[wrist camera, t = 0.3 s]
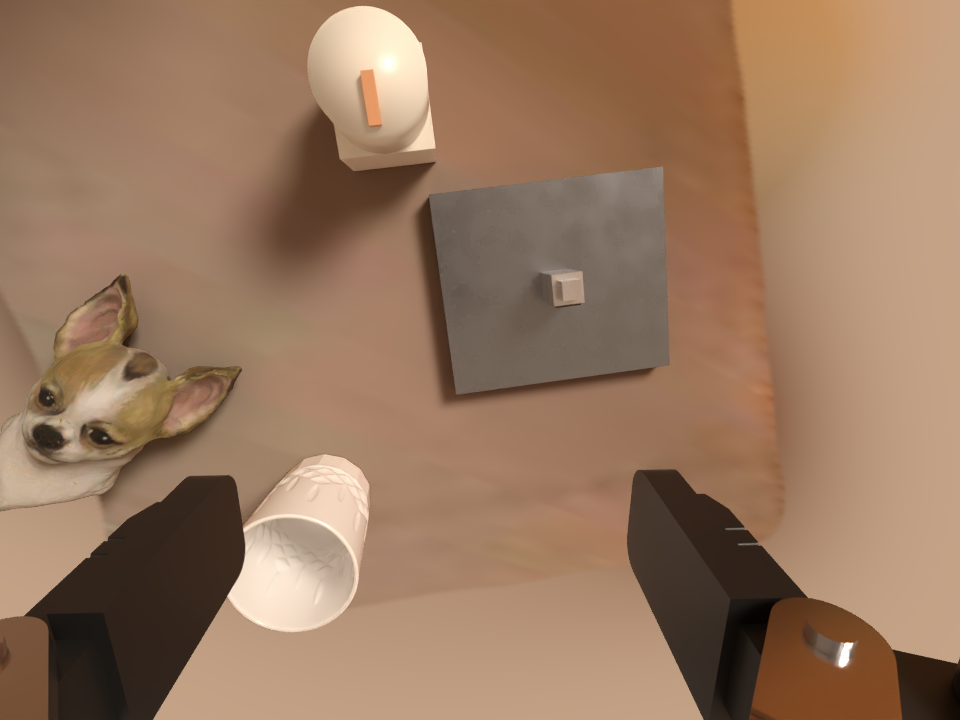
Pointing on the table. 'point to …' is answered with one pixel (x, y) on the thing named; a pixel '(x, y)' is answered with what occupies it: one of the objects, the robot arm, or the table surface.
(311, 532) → the white cup
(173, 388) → the ceramic sculpture
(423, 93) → the knob
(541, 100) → the table surface
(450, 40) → the table surface
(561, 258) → the grey base with post
